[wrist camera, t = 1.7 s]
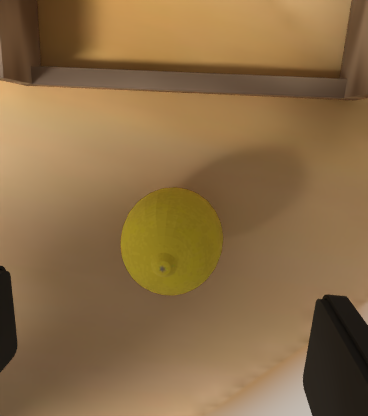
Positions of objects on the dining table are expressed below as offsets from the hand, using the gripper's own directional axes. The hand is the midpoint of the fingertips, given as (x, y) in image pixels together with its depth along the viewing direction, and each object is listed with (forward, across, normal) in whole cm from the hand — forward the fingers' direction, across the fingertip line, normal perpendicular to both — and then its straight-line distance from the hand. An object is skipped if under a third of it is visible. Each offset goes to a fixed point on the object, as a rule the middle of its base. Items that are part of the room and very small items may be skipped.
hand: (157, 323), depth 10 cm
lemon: (+13, +1, +1) cm, 13 cm away
